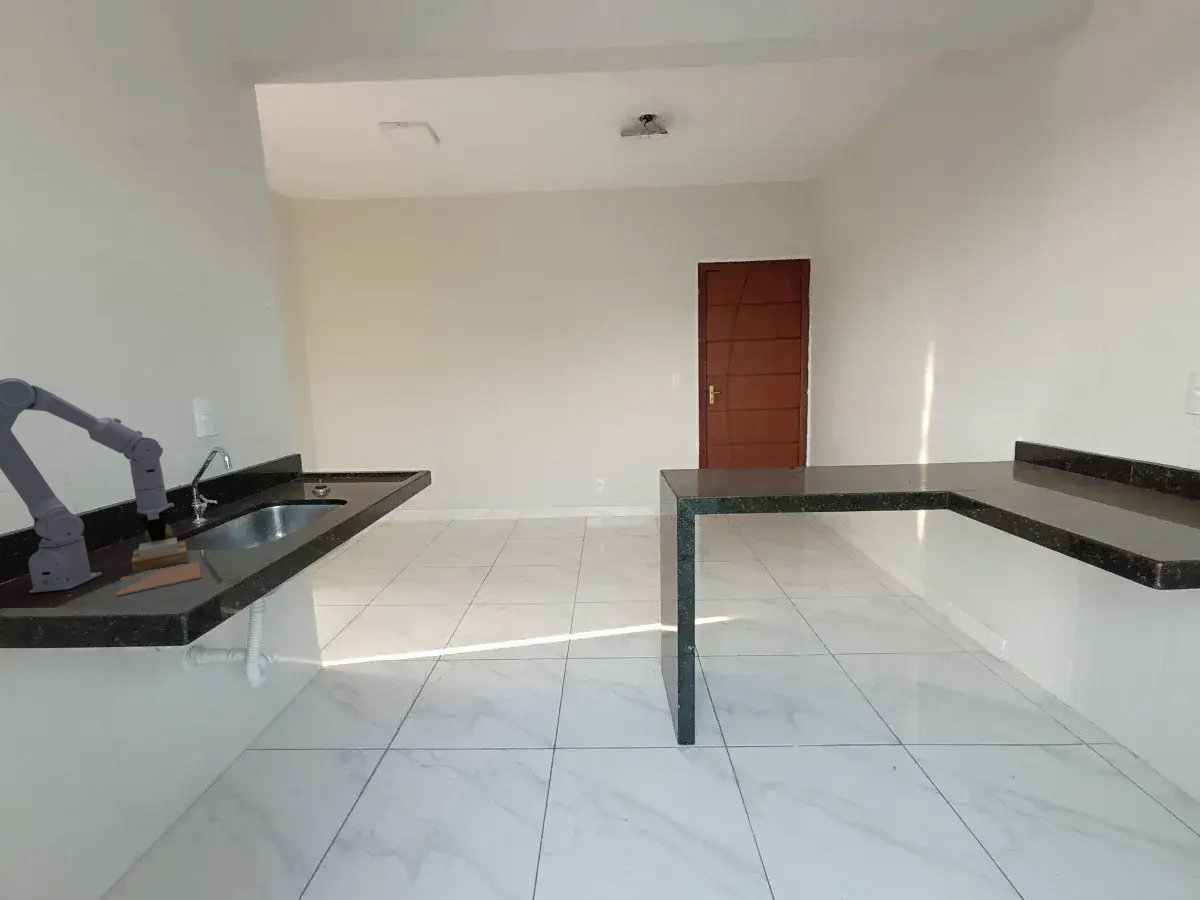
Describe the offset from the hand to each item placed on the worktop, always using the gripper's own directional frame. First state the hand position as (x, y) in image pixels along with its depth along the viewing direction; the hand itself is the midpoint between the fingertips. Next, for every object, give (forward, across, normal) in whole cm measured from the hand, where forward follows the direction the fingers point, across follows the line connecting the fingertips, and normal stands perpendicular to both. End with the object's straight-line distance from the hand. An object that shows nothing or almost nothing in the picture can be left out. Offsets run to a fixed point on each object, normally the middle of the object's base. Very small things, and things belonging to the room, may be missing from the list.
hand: (159, 544), depth 142 cm
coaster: (+1, -6, 0) cm, 6 cm away
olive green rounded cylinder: (+1, +18, 0) cm, 18 cm away
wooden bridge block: (+4, -4, 0) cm, 5 cm away
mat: (+4, -19, 0) cm, 19 cm away
